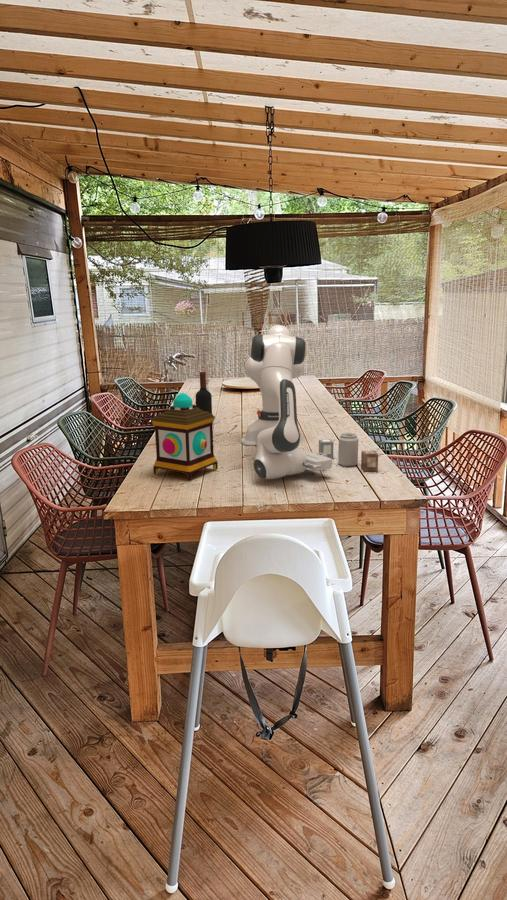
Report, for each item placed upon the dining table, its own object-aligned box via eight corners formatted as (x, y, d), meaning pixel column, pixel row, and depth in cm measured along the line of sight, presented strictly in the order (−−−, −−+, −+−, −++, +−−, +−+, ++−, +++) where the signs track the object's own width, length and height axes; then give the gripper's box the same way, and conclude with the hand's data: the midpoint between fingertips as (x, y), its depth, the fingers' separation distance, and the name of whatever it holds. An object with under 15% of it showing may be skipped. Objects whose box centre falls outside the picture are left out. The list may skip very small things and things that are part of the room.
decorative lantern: (190, 483, 205) (186, 398, 198) (148, 475, 215) (143, 394, 208) (223, 469, 221) (220, 390, 214) (182, 462, 232) (178, 387, 224)
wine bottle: (194, 436, 277) (191, 372, 269) (201, 432, 284) (199, 371, 276) (208, 437, 274) (206, 373, 266) (215, 433, 281) (213, 371, 273)
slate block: (320, 459, 233) (321, 442, 231) (318, 456, 238) (318, 439, 236) (333, 459, 233) (333, 442, 231) (330, 455, 238) (331, 439, 236)
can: (359, 462, 227) (360, 432, 224) (356, 468, 220) (356, 437, 217) (340, 461, 230) (340, 431, 227) (336, 466, 223) (336, 435, 220)
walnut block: (364, 473, 214) (364, 454, 212) (360, 469, 219) (361, 450, 217) (377, 472, 214) (378, 453, 212) (374, 468, 219) (374, 450, 217)
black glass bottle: (206, 419, 316) (204, 363, 309) (224, 421, 309) (223, 364, 302) (190, 423, 306) (188, 366, 299) (209, 425, 299) (207, 367, 292)
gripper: (313, 459, 201) (343, 453, 208) (278, 447, 217) (307, 442, 225) (313, 476, 202) (343, 470, 210) (278, 463, 219) (307, 458, 226)
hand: (324, 455), depth 217 cm, fingers closed
